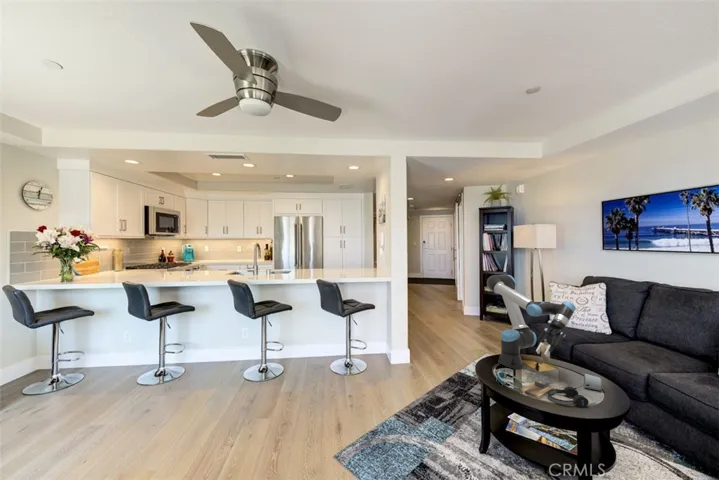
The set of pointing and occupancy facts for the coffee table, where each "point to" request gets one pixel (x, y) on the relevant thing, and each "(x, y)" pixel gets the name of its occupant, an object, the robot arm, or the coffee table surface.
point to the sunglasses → (502, 375)
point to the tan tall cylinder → (543, 350)
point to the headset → (570, 393)
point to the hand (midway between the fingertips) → (541, 353)
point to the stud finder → (541, 383)
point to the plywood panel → (535, 390)
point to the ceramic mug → (593, 382)
